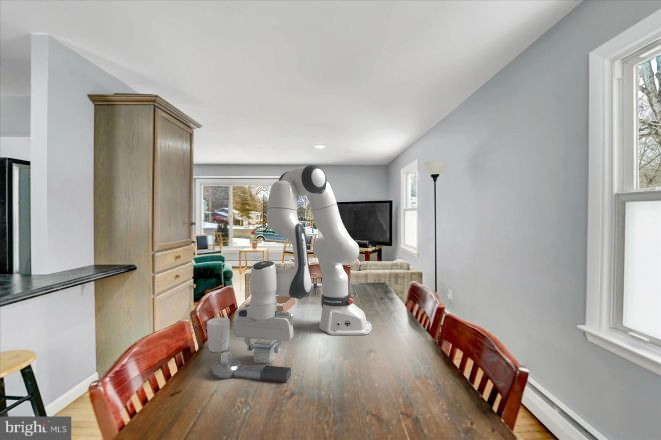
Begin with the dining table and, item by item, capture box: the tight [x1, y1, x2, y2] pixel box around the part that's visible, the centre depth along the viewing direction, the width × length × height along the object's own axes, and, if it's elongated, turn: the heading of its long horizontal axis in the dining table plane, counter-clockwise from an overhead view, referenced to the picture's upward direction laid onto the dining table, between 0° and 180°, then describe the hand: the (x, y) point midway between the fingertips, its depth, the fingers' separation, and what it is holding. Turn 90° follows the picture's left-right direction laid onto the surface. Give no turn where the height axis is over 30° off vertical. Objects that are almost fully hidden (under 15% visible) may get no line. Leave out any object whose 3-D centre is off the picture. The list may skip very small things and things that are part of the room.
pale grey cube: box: [252, 339, 277, 364], centre depth 107 cm, size 6×6×6 cm
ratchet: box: [211, 351, 292, 384], centre depth 96 cm, size 24×8×6 cm, turn 79°
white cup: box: [206, 317, 231, 353], centre depth 116 cm, size 8×8×10 cm
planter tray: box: [244, 295, 296, 312], centre depth 166 cm, size 20×19×4 cm
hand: (263, 351), depth 107 cm, fingers open, 8 cm apart
